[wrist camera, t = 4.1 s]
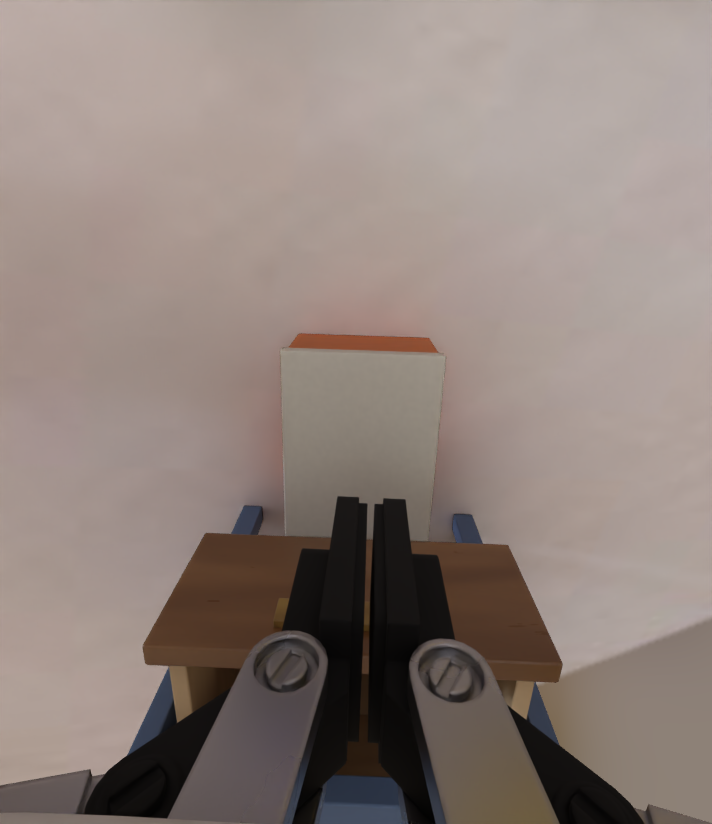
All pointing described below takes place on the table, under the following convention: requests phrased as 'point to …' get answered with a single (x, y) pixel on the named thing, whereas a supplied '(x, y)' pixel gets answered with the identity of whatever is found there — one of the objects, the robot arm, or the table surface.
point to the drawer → (268, 600)
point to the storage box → (359, 427)
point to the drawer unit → (345, 794)
